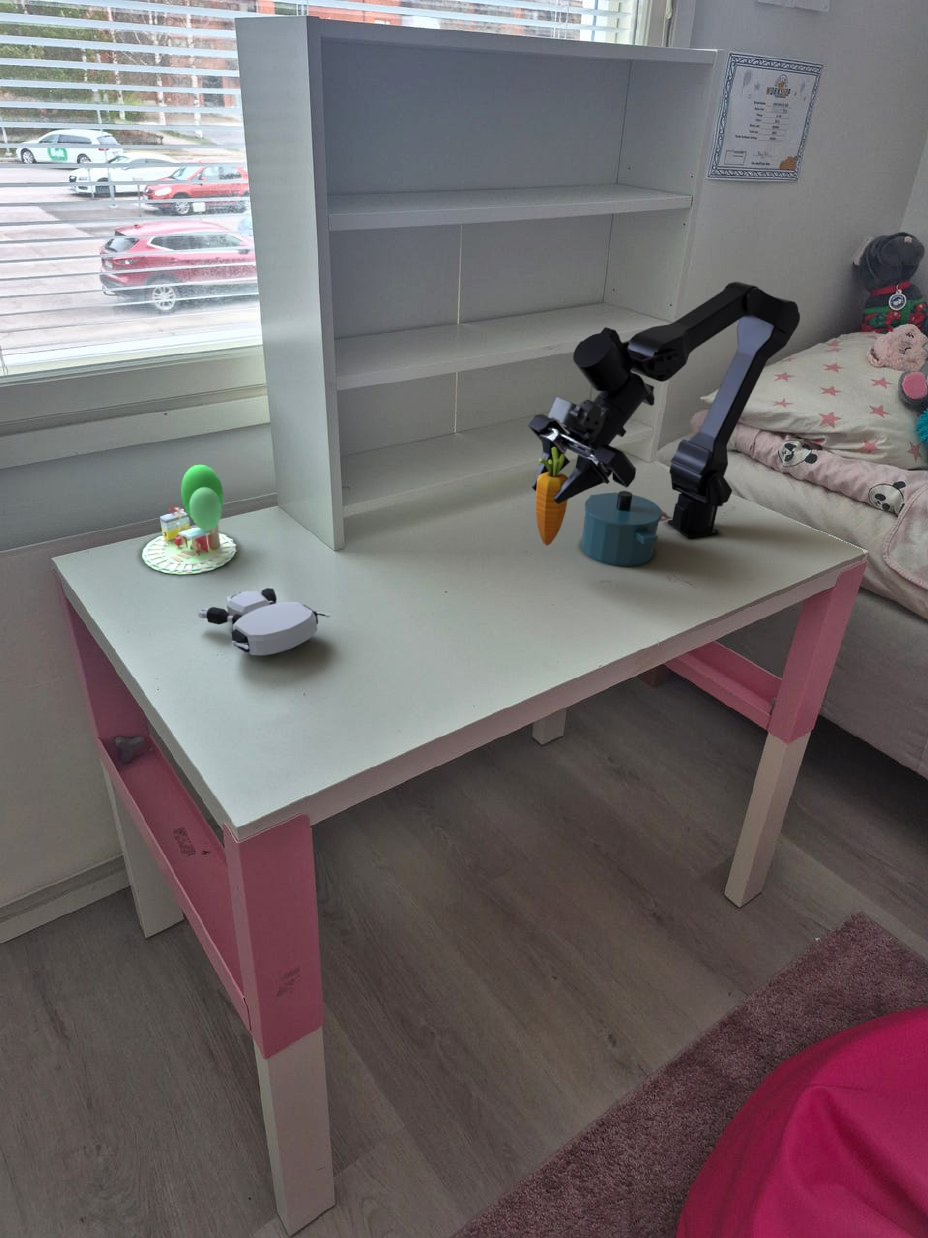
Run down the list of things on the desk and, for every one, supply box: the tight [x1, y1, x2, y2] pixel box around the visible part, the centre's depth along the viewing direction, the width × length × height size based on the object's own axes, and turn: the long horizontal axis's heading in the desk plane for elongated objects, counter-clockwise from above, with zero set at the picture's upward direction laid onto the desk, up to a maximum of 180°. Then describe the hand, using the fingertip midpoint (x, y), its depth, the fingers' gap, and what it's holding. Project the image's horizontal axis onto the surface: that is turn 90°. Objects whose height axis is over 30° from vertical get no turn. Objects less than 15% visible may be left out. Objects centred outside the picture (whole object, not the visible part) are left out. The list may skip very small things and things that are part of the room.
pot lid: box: [584, 490, 663, 528], centre depth 137 cm, size 12×12×4 cm
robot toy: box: [197, 586, 331, 656], centre depth 113 cm, size 12×4×15 cm
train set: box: [141, 464, 237, 575], centre depth 130 cm, size 15×14×14 cm
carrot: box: [535, 447, 569, 547], centre depth 126 cm, size 5×5×15 cm
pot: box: [581, 494, 660, 567], centre depth 139 cm, size 11×17×7 cm
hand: (544, 495), depth 125 cm, fingers closed on carrot, 5 cm apart
